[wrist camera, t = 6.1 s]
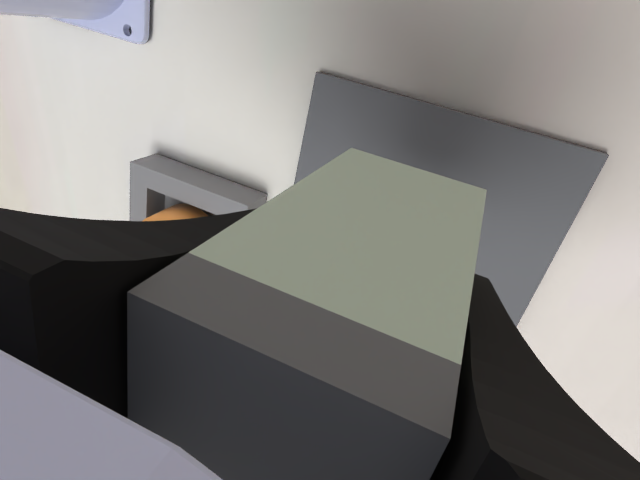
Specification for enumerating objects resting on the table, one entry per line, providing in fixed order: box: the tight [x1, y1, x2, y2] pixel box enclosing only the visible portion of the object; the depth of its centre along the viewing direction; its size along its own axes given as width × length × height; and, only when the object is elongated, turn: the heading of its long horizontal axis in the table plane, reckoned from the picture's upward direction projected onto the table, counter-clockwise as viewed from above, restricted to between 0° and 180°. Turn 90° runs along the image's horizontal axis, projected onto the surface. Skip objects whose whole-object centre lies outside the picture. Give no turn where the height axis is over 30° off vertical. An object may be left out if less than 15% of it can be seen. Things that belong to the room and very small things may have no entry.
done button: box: [143, 204, 208, 221], centre depth 23 cm, size 4×4×2 cm
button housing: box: [130, 154, 267, 221], centre depth 24 cm, size 7×7×2 cm
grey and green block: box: [127, 148, 487, 480], centre depth 10 cm, size 4×4×9 cm
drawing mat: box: [294, 72, 609, 326], centre depth 22 cm, size 12×18×1 cm, turn 167°
